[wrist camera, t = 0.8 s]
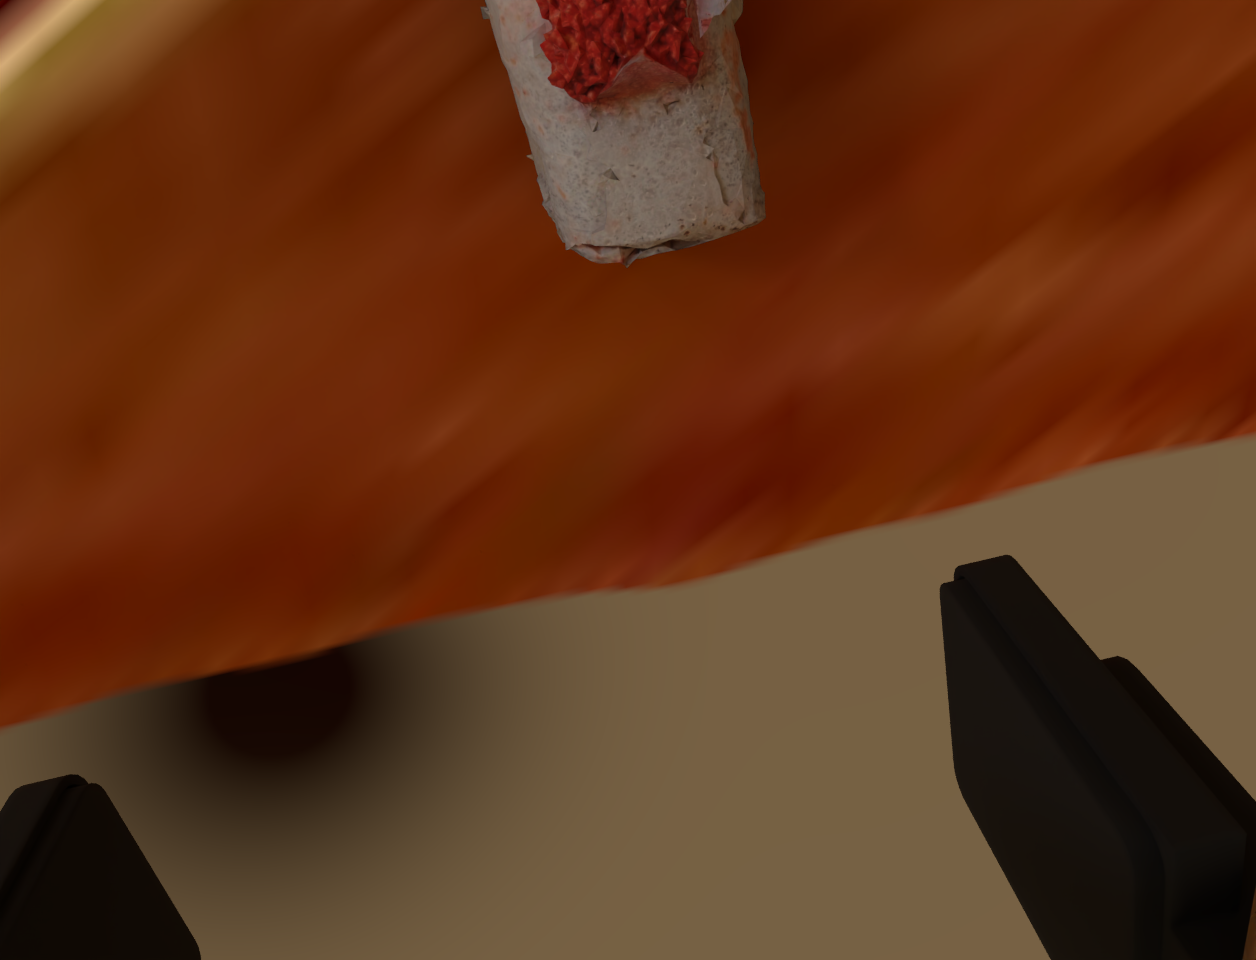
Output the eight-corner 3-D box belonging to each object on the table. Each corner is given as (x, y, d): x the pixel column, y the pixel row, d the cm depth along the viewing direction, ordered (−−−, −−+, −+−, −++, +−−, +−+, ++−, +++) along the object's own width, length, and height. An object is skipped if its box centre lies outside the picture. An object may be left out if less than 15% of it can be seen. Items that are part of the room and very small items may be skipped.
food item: (427, -186, 32) (393, -244, 23) (673, -262, 32) (734, -350, 23) (554, 236, 38) (566, 315, 29) (761, 175, 38) (835, 237, 29)
